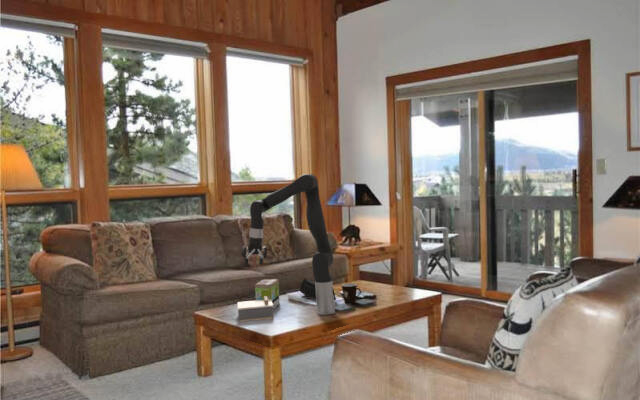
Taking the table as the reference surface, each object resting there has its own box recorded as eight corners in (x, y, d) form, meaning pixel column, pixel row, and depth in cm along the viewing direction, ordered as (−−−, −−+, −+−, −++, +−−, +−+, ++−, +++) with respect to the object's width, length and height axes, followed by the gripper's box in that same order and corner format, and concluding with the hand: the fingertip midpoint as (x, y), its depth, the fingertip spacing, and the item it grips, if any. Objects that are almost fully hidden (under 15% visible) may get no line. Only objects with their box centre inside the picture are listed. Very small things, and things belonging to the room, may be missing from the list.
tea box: (272, 310, 311) (271, 284, 310) (255, 310, 313) (254, 284, 312) (280, 303, 326) (278, 278, 325) (263, 303, 328) (262, 278, 327)
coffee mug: (340, 301, 323) (339, 284, 322) (353, 299, 326) (352, 282, 326) (349, 305, 312) (348, 288, 311) (362, 303, 315) (361, 286, 315)
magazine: (338, 287, 320) (306, 267, 342) (333, 288, 318) (302, 268, 340) (334, 314, 325) (303, 292, 346) (329, 315, 323) (299, 293, 344)
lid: (271, 300, 308) (270, 294, 307) (273, 306, 293) (272, 300, 293) (237, 303, 305) (237, 297, 304) (238, 309, 290) (237, 303, 290)
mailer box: (271, 311, 308) (270, 301, 307) (273, 318, 294) (272, 307, 294) (238, 314, 305) (237, 304, 305) (239, 321, 291) (238, 310, 291)
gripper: (247, 237, 302) (244, 266, 303) (270, 237, 309) (267, 266, 311) (241, 235, 308) (238, 263, 309) (264, 235, 316) (261, 263, 317)
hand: (253, 265), depth 310 cm, fingers open, 8 cm apart
